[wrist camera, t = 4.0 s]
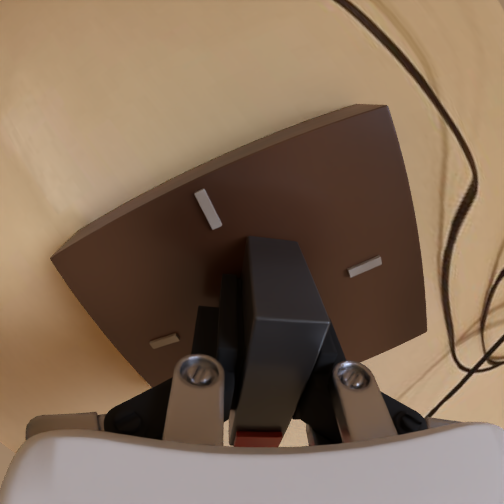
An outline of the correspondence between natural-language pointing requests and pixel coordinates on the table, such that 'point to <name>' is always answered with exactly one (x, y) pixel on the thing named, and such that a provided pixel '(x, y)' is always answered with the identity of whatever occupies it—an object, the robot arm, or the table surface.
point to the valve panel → (261, 225)
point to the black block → (275, 340)
